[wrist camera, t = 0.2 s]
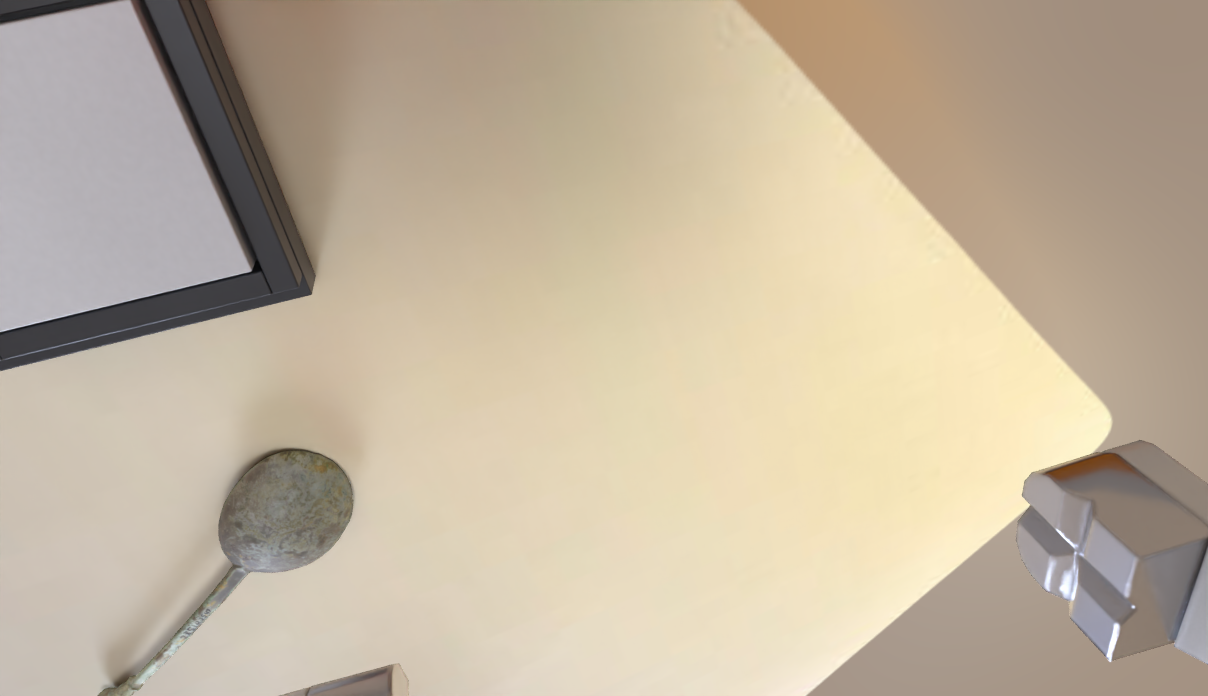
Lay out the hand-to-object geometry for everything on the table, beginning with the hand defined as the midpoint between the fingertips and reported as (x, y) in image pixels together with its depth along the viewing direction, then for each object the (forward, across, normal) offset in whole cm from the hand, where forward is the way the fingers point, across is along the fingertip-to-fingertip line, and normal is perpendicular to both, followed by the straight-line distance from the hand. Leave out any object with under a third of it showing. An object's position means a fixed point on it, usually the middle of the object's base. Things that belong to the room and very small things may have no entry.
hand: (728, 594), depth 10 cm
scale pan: (+29, +17, -1) cm, 33 cm away
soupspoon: (+31, +22, +24) cm, 45 cm away
